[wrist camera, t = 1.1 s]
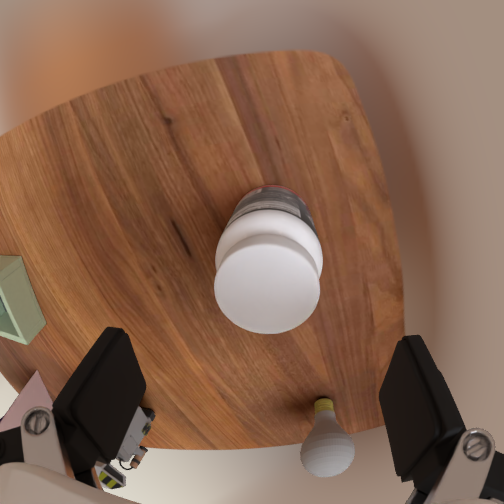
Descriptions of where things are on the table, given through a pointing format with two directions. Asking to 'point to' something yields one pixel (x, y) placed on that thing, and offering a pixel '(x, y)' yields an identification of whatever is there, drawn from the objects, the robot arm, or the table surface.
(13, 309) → the holder
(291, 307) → the pill bottle
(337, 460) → the light bulb
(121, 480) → the figurine
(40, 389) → the greeting card
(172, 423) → the table surface
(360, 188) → the table surface
